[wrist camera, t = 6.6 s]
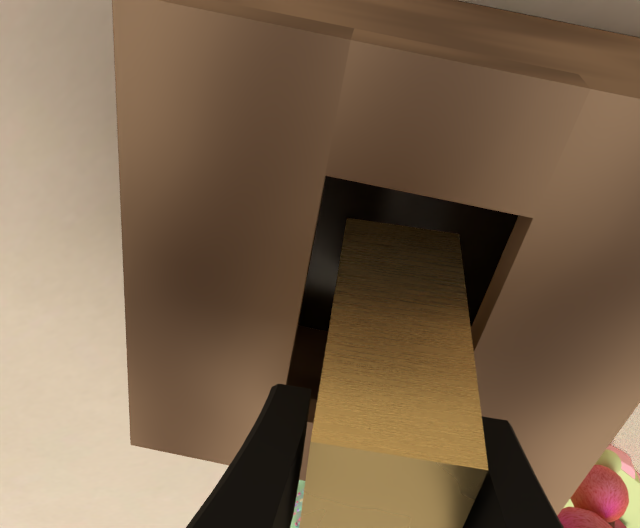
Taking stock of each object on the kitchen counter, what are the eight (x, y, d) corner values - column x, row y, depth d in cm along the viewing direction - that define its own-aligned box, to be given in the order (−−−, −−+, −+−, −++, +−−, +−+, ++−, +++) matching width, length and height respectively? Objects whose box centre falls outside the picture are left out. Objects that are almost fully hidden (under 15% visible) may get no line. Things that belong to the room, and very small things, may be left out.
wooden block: (458, 234, 13) (488, 470, 8) (416, 385, 16) (418, 623, 11) (346, 217, 13) (310, 441, 8) (325, 371, 16) (289, 601, 11)
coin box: (694, 49, 14) (831, 138, 9) (516, 387, 21) (546, 531, 16) (205, -51, 14) (112, -9, 10) (189, 319, 21) (130, 444, 16)
